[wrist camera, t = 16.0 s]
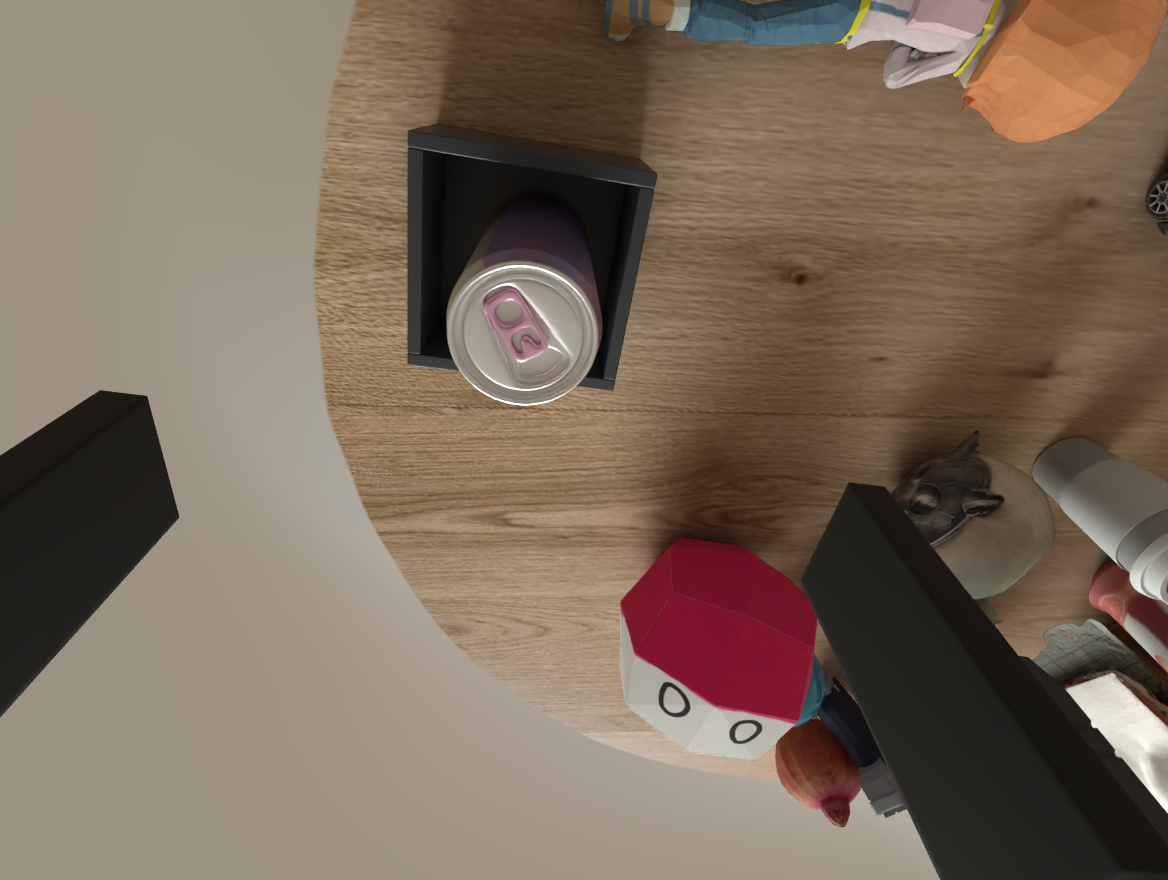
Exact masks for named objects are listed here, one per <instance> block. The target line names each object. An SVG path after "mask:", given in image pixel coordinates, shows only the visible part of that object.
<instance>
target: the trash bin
mask: <svg viewBox="0 0 1168 880" xmlns="http://www.w3.org/2000/svg"><path fill="white" fill-rule="evenodd" d="M408 147H409V148H408V365H414V366H422V367H429V368H437V369H445V370H453V371H459V369H458V367H457V366H456V364H455V362H454V360H453V358H452V355H451V353H450V349H449V346H448V340H447V325H446V315H447V307H448V302H449V299H450V296H451V293H452V291H453V289H454V287H455V285H456V283H457V281H458V280H459V278H460V276H461V274H462V272H463V271H464V269H465V267H466V265H467V264H468V262H469V260H470V258H471V256H472V255H473V253H474V251H475V249H476V247H477V246H478V244H479V242H480V240H481V239H482V237H483V235H484V233H485V231H486V230H487V228H488V226H489V224H490V222H491V221H492V219H493V217H494V216H495V214H496V213H497V212H498V211H499V210H500V209H501V208H502V207H503V206H504V205H505V204H506V203H508V202H509V201H511V200H513V199H515V198H518V197H521V196H524V195H531V194H539V195H546V196H550V197H553V198H555V199H557V200H560V201H561V202H563V203H564V204H566V205H567V206H568V207H570V208H571V209H572V210H573V211H574V212H575V214H576V215H577V216H578V218H579V219H580V221H581V222H582V224H583V226H584V229H585V232H586V235H587V239H588V245H589V250H590V256H591V261H592V266H593V272H594V277H595V283H596V288H597V294H598V299H599V304H600V310H601V315H602V336H601V341H600V345H599V349H598V351H597V354H596V357H595V360H594V362H593V364H592V366H591V368H590V370H589V372H588V373H587V375H586V376H585V378H584V379H583V380H582V381H581V382H580V383H579V384H578V385H577V386H576V387H583V388H591V389H599V390H607V391H613V389H614V384H615V379H616V374H617V369H618V365H619V360H620V355H621V350H622V345H623V340H624V335H625V330H626V326H627V321H628V316H629V311H630V306H631V301H632V296H633V291H634V286H635V282H636V277H637V272H638V267H639V262H640V257H641V252H642V247H643V243H644V238H645V233H646V228H647V223H648V218H649V213H650V208H651V204H652V199H653V194H654V188H655V184H656V179H657V173H656V172H655V171H654V170H653V169H651V168H650V167H649V166H648V165H647V164H646V163H644V162H643V161H642V160H641V159H639V158H633V157H627V156H621V155H616V154H610V153H604V152H599V151H593V150H587V149H581V148H576V147H570V146H564V145H559V144H553V143H547V142H542V141H536V140H530V139H524V138H519V137H513V136H507V135H502V134H496V133H490V132H484V131H479V130H473V129H467V128H462V127H456V126H450V125H445V124H439V123H437V124H433V125H428V126H424V127H420V128H416V129H411V130H408Z"/></svg>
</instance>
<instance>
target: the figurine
mask: <svg viewBox="0 0 1168 880" xmlns="http://www.w3.org/2000/svg"><path fill="white" fill-rule="evenodd" d="M1167 6H1168V4H1167V0H780V1H774V2H768V3H763V4H757V5H753V4H750V3H746V2H743V1H739V0H606V7H605V14H604V31H603V36H605V37H606V38H608V39H609V40H614V41H623V40H624V39H625V38H626V37H627V36H629V35H630V32H631V30H632V29H633V28H634V27H644V26H655V25H664V27H665V30H670V31H683V33H684V34H685V36H686V37H689V38H692V39H695V40H698V41H725V40H744V41H745V42H746V43H747V44H751V45H804V44H822V43H844V45H845V47H846V49H847V50H848V49H851V48H854V47H856V46H859V45H861V44H863V43H866V42H868V41H877V40H894V41H893V43H892V46H891V49H890V51H889V54H888V57H887V60H886V62H885V65H884V68H883V81H884V83H885V84H886V86H887V87H888V88H894V89H896V88H899V87H903V86H906V85H909V84H912V83H915V82H919V81H922V80H926V79H930V78H934V77H938V76H942V75H946V74H950V73H953V76H954V77H955V78H956V77H957V76H958V78H959V81H960V83H961V84H962V85H963V87H964V88H965V90H964V92H963V94H962V96H961V98H960V99H962V98H963V97H964V100H963V105H962V110H961V114H962V113H963V112H964V111H965V110H966V109H967V108H968V107H969V106H970V107H972V108H974V109H976V110H978V111H979V112H980V113H981V114H982V115H983V117H984V118H985V119H987V120H988V122H989V123H990V125H991V128H992V130H993V131H995V132H997V133H999V134H1001V135H1002V136H1004V137H1006V138H1007V139H1010V140H1013V141H1016V142H1020V143H1027V142H1036V141H1042V140H1045V139H1048V138H1051V137H1054V136H1057V135H1060V134H1062V133H1065V132H1068V131H1071V130H1074V129H1077V128H1079V127H1081V126H1082V125H1084V124H1085V123H1087V122H1088V121H1090V120H1091V119H1093V118H1094V117H1096V116H1097V115H1099V114H1100V113H1102V112H1103V111H1105V110H1106V109H1107V108H1108V107H1109V106H1111V105H1112V104H1113V103H1114V102H1115V101H1116V100H1117V98H1118V97H1119V96H1120V95H1121V94H1122V92H1123V91H1124V90H1125V89H1126V87H1127V86H1128V85H1129V84H1130V83H1131V81H1132V80H1133V79H1134V78H1135V76H1136V75H1137V74H1138V73H1139V72H1140V70H1141V69H1142V68H1143V67H1144V65H1145V64H1146V63H1147V61H1148V59H1149V56H1150V54H1151V51H1152V49H1153V47H1154V44H1155V42H1156V39H1157V37H1158V34H1159V32H1160V29H1161V27H1162V24H1163V22H1164V19H1165V17H1166V12H1167ZM928 52H932V53H937V54H939V55H937V56H933V57H928V58H925V59H921V58H923V57H925V53H928ZM919 59H921V60H919ZM916 60H917V61H916Z"/></svg>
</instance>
